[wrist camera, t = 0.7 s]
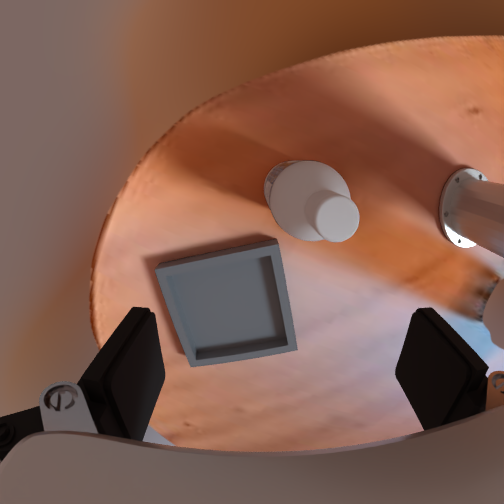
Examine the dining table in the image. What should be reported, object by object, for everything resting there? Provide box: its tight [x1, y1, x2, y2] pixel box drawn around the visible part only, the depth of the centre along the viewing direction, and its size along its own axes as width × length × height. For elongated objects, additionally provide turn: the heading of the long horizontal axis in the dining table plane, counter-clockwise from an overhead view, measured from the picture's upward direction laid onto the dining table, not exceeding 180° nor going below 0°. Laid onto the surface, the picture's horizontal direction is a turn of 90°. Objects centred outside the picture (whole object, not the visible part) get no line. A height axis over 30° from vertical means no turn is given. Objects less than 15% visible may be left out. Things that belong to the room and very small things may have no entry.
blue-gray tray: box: [155, 239, 298, 367], centre depth 39 cm, size 16×16×2 cm
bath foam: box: [264, 160, 359, 242], centre depth 26 cm, size 7×7×20 cm
